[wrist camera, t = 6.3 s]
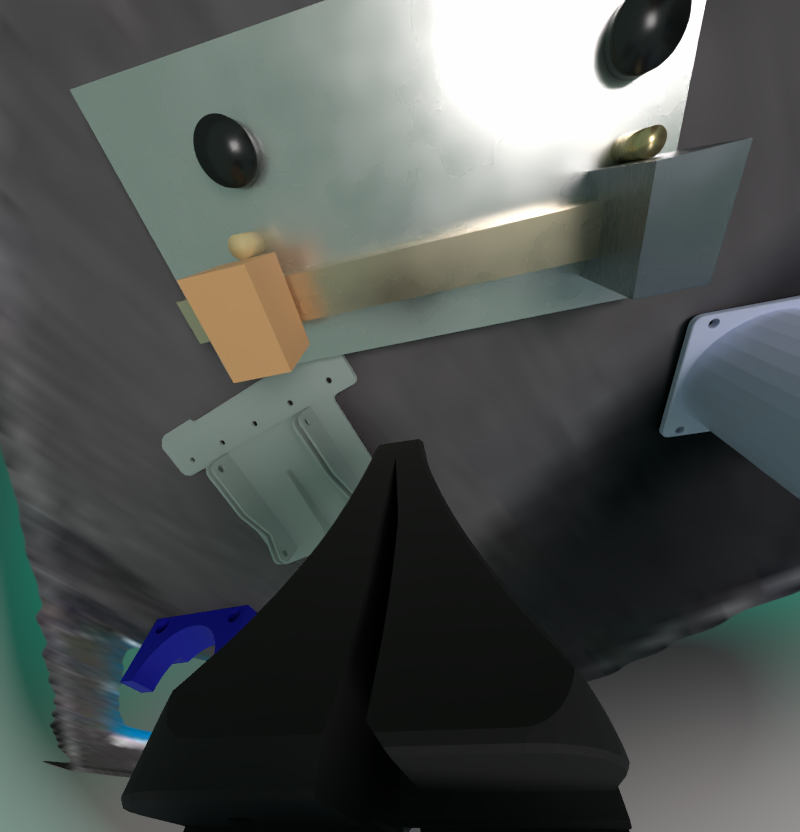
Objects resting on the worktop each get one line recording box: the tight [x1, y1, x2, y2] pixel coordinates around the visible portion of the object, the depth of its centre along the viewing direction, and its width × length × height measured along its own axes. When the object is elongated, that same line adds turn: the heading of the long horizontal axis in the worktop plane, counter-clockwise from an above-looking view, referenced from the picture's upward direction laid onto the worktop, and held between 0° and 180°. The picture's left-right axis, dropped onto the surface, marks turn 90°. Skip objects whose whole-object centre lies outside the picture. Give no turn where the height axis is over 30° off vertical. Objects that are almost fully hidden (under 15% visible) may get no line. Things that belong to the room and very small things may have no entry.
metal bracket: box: [162, 354, 372, 564], centre depth 23 cm, size 14×6×15 cm
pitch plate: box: [70, 0, 753, 376], centre depth 12 cm, size 22×12×6 cm, turn 102°
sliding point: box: [177, 231, 310, 383], centre depth 14 cm, size 2×5×4 cm, turn 12°
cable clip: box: [120, 605, 257, 693], centre depth 35 cm, size 12×4×6 cm, turn 108°
